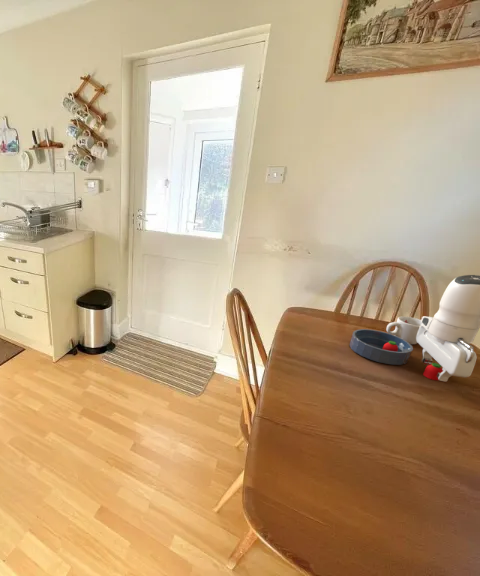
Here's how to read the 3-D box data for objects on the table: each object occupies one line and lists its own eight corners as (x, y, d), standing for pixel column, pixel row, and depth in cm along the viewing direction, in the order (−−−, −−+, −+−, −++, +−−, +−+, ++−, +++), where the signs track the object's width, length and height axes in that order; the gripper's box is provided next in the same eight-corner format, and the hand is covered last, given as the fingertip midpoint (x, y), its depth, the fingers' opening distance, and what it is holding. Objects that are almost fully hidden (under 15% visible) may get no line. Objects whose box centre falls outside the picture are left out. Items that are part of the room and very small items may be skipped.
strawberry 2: (429, 372, 96) (435, 360, 94) (443, 379, 93) (449, 367, 91) (419, 373, 96) (424, 361, 94) (432, 381, 92) (438, 368, 91)
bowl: (395, 345, 110) (400, 333, 108) (417, 370, 97) (423, 356, 95) (343, 338, 116) (347, 326, 114) (357, 360, 102) (361, 347, 101)
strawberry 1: (392, 351, 106) (397, 340, 104) (397, 357, 103) (402, 345, 101) (379, 349, 107) (383, 338, 106) (383, 355, 104) (388, 343, 103)
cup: (389, 344, 111) (397, 324, 108) (376, 333, 118) (383, 314, 115) (426, 347, 109) (435, 327, 106) (410, 336, 116) (418, 317, 113)
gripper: (493, 352, 78) (469, 396, 83) (445, 317, 96) (429, 355, 101) (459, 347, 81) (438, 390, 86) (419, 314, 98) (404, 351, 103)
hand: (433, 371), depth 93 cm, fingers open, 7 cm apart
